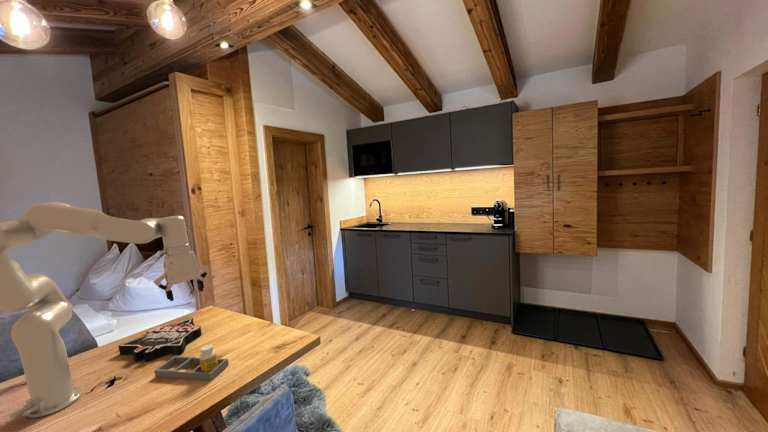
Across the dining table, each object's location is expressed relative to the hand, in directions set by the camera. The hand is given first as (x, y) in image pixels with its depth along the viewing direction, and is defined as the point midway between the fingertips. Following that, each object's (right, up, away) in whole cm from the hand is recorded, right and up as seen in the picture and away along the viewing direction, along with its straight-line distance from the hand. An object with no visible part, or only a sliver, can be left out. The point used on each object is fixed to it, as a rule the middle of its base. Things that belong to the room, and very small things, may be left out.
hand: (186, 295), depth 114 cm
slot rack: (+2, -28, 0) cm, 28 cm away
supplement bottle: (+9, -28, -1) cm, 29 cm away
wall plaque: (-23, -27, +23) cm, 42 cm away
